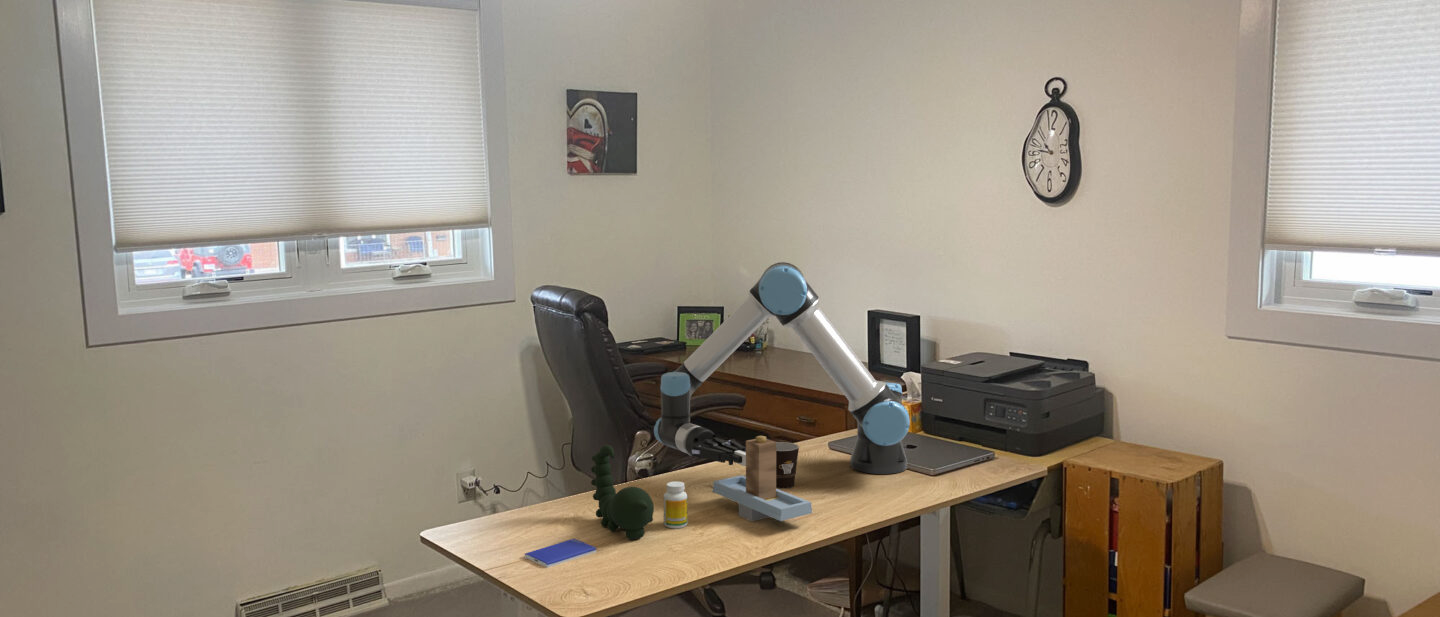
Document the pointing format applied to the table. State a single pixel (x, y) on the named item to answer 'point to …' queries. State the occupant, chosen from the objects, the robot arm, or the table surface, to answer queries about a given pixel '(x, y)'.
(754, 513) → the beam
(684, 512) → the supplement bottle
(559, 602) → the table surface
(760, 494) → the brown block with knob
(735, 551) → the table surface
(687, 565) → the table surface
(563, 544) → the hard drive
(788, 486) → the coffee mug
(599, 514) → the toy figurine
